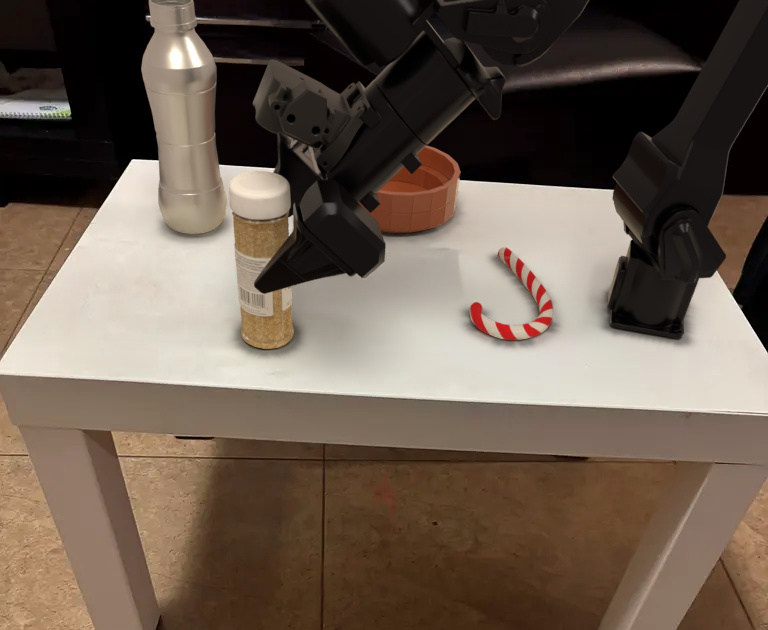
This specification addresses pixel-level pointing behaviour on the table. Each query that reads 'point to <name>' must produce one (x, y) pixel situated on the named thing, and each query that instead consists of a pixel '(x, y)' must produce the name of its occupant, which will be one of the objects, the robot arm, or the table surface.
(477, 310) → the candy cane
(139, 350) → the table surface
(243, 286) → the sprinkles bottle
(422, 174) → the bowl
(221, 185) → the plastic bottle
